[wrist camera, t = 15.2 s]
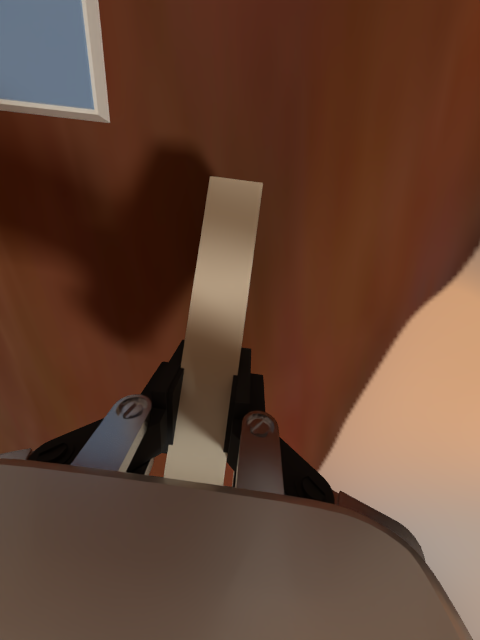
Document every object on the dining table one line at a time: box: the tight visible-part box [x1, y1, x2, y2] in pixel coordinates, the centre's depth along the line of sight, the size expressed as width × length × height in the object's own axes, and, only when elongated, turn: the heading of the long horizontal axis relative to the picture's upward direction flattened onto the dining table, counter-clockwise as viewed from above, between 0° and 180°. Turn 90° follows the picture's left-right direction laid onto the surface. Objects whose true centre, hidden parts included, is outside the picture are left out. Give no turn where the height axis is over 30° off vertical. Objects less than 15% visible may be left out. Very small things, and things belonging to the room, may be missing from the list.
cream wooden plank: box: [164, 176, 263, 486], centre depth 11 cm, size 16×2×4 cm, turn 173°
